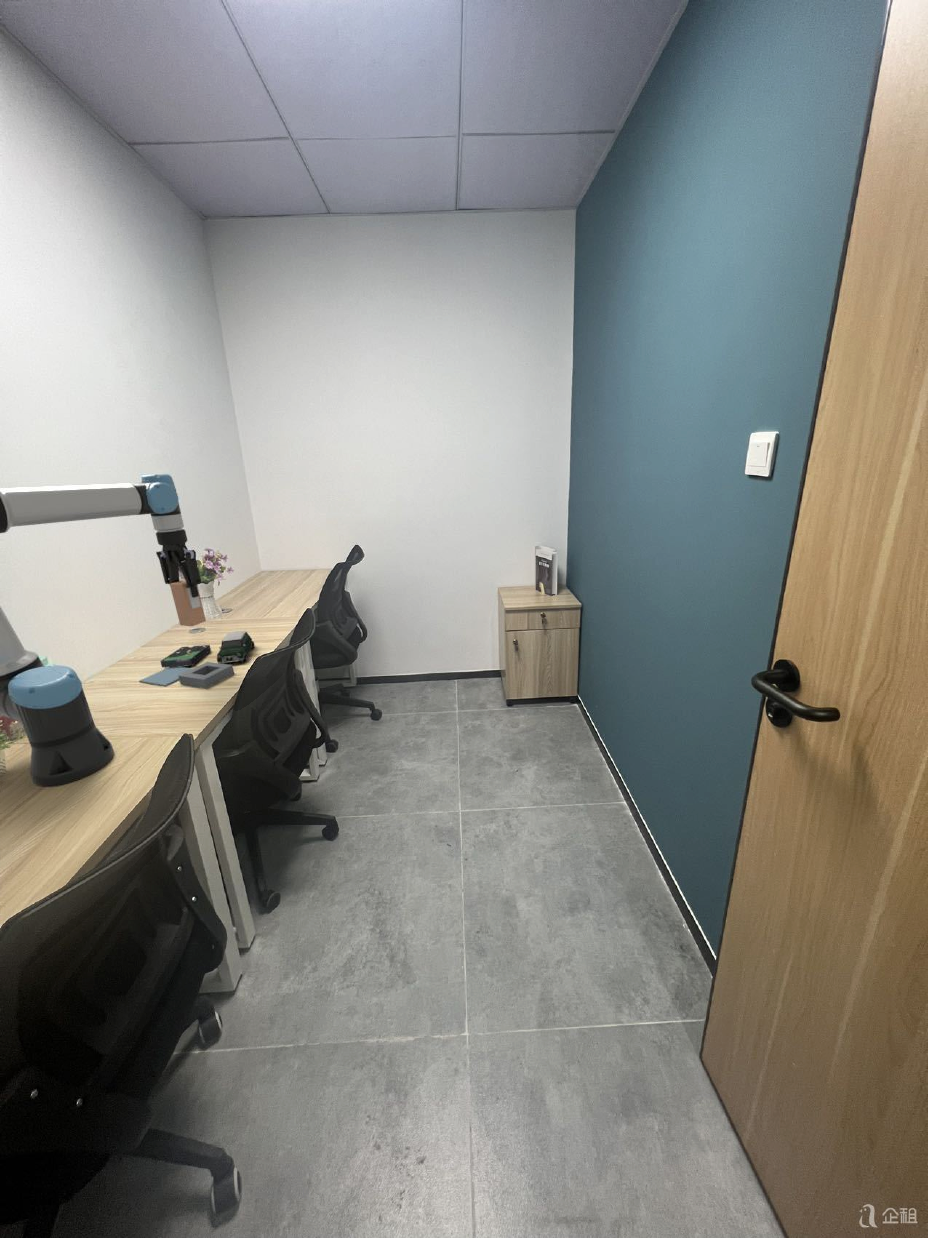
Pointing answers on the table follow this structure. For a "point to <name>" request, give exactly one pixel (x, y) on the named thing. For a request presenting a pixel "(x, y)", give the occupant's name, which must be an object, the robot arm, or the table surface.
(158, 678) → the rubber mat
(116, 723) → the table surface
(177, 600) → the terracotta block
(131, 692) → the table surface
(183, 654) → the disk drive
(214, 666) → the pocket holder
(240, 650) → the miniature car
